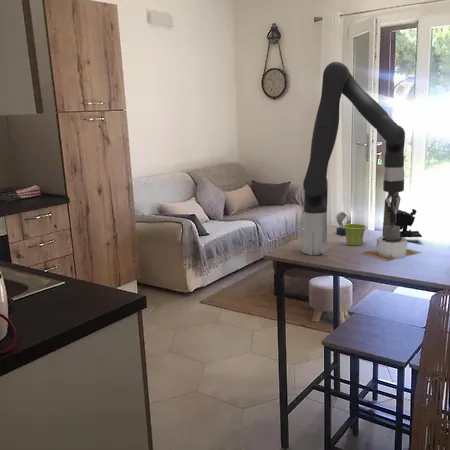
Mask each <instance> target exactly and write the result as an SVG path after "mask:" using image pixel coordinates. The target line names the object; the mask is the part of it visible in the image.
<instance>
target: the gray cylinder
mask: <svg viewBox="0 0 450 450" xmlns="http://www.w3.org/2000/svg"><path fill="white" fill-rule="evenodd" d="M400 231H401V230H400V226H396V225H387V226H385V240H384V241H390V242H397V241H400Z"/></svg>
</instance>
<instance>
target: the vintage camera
mask: <svg viewBox="0 0 450 450" xmlns="http://www.w3.org/2000/svg"><path fill="white" fill-rule="evenodd" d="M386 202H388V201H387V197H385V199H384V209H383V222H382V235H381V237H383V236H385V226H387V225H396V226H400V237H403V238H423V235H421V233H420V232H419V230H412V229H409V230H408V227H412V226H413V224H414V222H415V219H416V216H415V215H416V214H417V212H418V211H417V210H416V209H414V208H412V209H411V212H410V213H409V212H407V211H404V210H402V209H399V210H398V211H397V214H396V223H395V224H390V223H389V220H390V214H389V213H388V212H387V207H386ZM416 242H417V243H418V240H416Z"/></svg>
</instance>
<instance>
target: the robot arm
mask: <svg viewBox="0 0 450 450" xmlns="http://www.w3.org/2000/svg"><path fill="white" fill-rule="evenodd" d="M321 85H322V86H321V95H320V101H319V105H318V108H317V112H316V116H315V122H314V125H313V131H312V137H311V144H310V146H311V147H310V153H309V155H310V156H309V157H310V158H309V161H308V162H309V163H308V166H307V169H306V174H305V176H304V179H303V183H302V185H303V190H304V202H303V229H302V230H301V234H302V235H301V252H302V254H306V255H310V256H321V255H323V254H324V253H326V252H327V251H328V248H327V247H328V195H329V193H328V191H329V189H328V187H329V186H328V185H329V184H328V183H329V182H328V178H327V176H328V167H329V162H330V159H331V156H332V155H333V154H332V153H333V151H334V147H335V145H336V140H337V137H338V131H339V126H340V124H339V123H340V103H341V98H342V95H344V96H345V98H347V99H348V100H349V102H351V104H352V105H353V106H354V107H355V109H356V110H357V111H358V113H359V114H360V115H361V116H362V117H363V118H364V119H365V120H366V121H367V122H368V123H369V124H370V126H372V127H373V128H374V129H375V130H376V131H377V132H378V134H379V135H380V137H382V139H383V140H384V141H385V153H384V159H383V160H384V165H383V167H384V168H383V183H382V184H383V188H382V190H383V191H384V192H385V193H388V194H387V196H386V198H387V201H388V202H386V207H387V212H388V213H389V214H390V220H389V223H390V224H395V223H396V214H397V211H398V210H400V209H399V208H400V203H401V196H400V194H399V193H401V192H403V191H405V151H404V150H405V143H406V142H405V141H406V132H405V129H404V128H403V127H402V126H401V125H399V124H398V123H397V122H395V121H394V120H393V119H392V118H391V117H390V116H389V114H388V112H387V111H386V110H385V108H383V106H381V105H380V104H379V103H378V102H377V100H375V99H374V98H373V97H372V96H371V95H370V94H368V93H367V91H365V90H364V88H362V87H361V86H360V84H359V83H358V82H357V81H356V79H355V78H354V75H352V74H351V72H350V69H349V68H348V67H347V66H346V64H344V63H342V62H340V61H332V62H330V63H329V64H327V65H326V67H325V68H324V70H323V74H322V84H321Z"/></svg>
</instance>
